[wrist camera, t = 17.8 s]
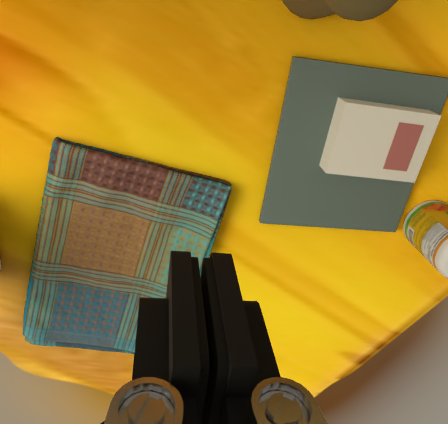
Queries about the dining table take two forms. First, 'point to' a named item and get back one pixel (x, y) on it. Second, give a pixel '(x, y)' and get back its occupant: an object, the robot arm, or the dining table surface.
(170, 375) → the robot arm
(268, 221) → the mat
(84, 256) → the dish towel
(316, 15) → the pepper shaker
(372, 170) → the card box
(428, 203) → the supplement bottle
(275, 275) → the dining table surface
